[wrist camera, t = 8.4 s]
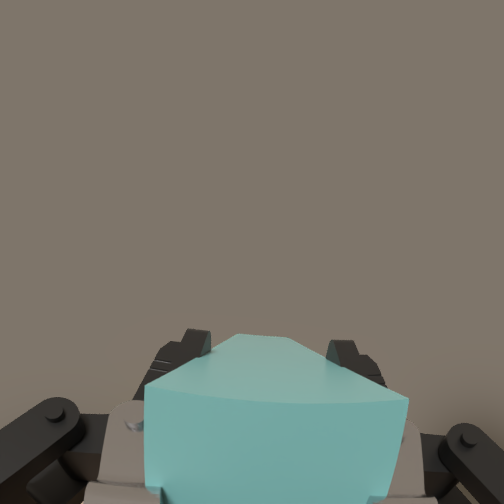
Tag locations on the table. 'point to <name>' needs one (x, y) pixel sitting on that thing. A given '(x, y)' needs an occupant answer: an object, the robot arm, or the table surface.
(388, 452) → the teal board
